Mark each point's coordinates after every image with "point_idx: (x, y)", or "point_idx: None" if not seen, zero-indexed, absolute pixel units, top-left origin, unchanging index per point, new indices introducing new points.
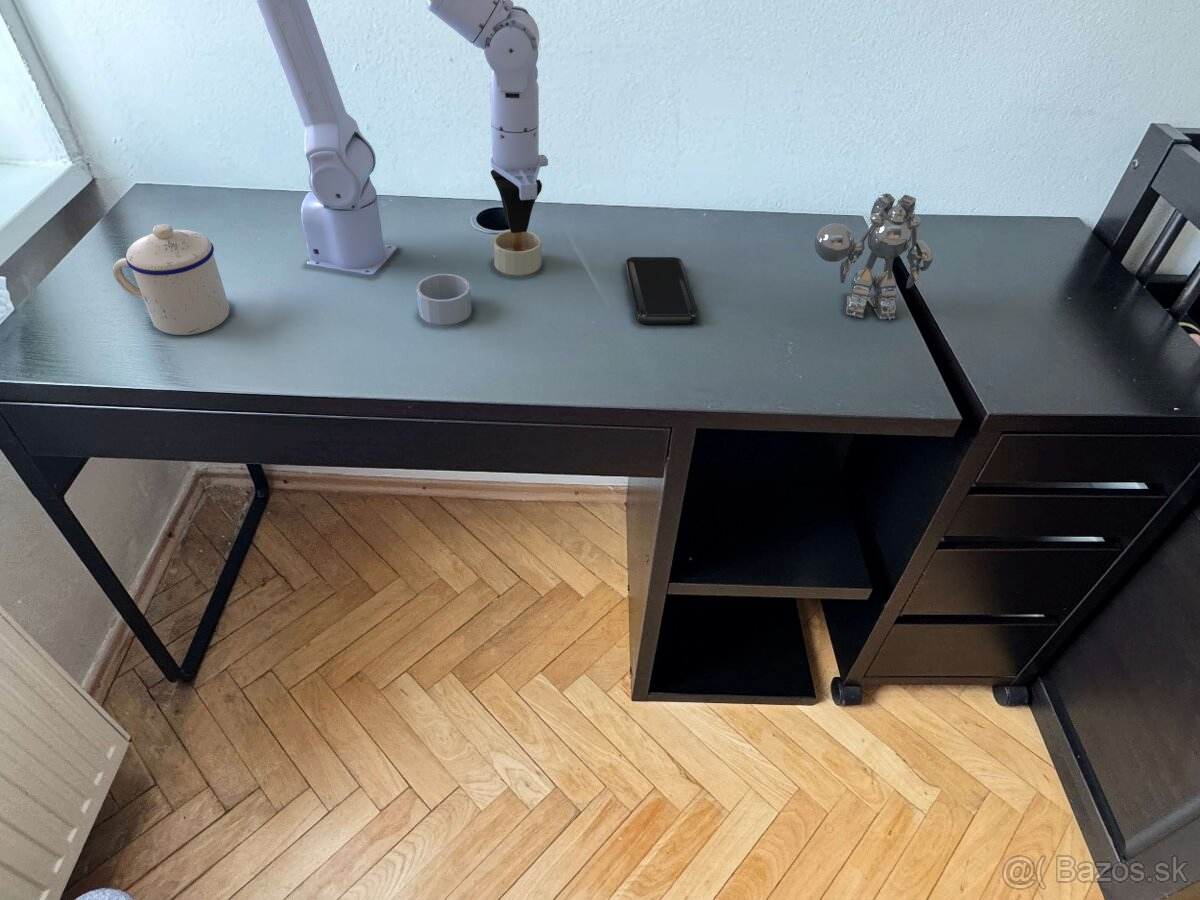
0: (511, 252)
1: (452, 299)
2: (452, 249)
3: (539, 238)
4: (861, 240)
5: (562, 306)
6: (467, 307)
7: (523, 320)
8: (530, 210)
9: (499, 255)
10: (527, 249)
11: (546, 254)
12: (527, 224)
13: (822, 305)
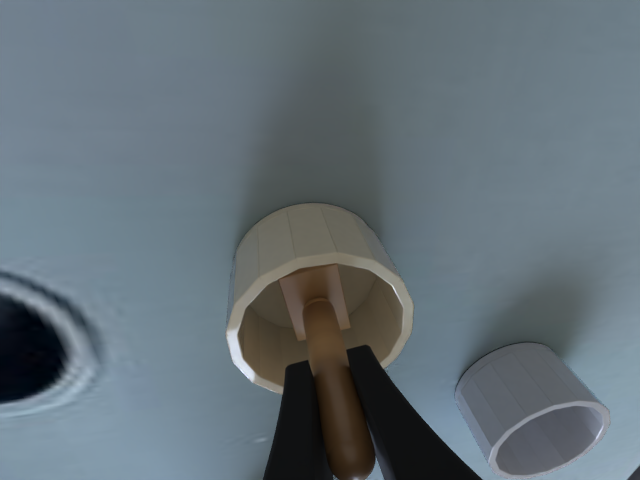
0: (406, 340)
1: (609, 420)
2: (221, 418)
3: (303, 262)
4: None
5: (563, 132)
6: (569, 370)
7: (588, 238)
8: (435, 435)
9: None
10: (304, 277)
11: (216, 185)
12: (383, 369)
13: None
